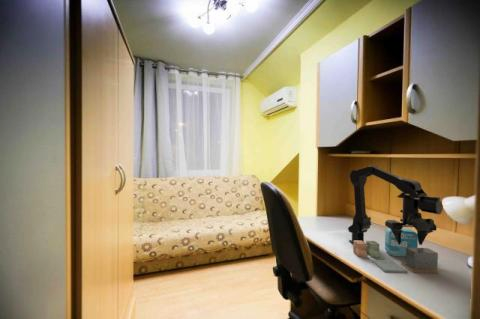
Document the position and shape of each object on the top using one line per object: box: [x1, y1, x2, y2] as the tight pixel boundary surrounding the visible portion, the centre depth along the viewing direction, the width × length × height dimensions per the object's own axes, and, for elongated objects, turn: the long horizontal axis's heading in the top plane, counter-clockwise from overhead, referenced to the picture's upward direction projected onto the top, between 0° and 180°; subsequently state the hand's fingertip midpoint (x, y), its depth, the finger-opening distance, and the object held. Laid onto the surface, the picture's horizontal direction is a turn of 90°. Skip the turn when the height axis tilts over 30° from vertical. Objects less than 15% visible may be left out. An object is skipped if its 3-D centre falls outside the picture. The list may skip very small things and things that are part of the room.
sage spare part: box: [365, 240, 380, 258], centre depth 107 cm, size 4×4×6 cm
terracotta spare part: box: [352, 240, 367, 257], centre depth 107 cm, size 4×4×6 cm
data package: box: [384, 227, 419, 258], centre depth 108 cm, size 12×4×12 cm, turn 77°
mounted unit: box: [400, 247, 440, 274], centre depth 94 cm, size 7×10×8 cm
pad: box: [371, 259, 408, 274], centre depth 95 cm, size 9×9×1 cm
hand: (409, 244), depth 99 cm, fingers open, 9 cm apart
